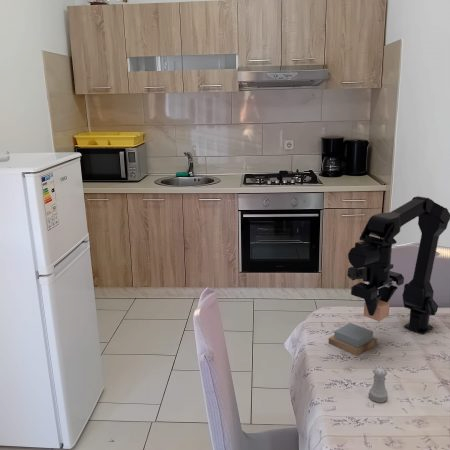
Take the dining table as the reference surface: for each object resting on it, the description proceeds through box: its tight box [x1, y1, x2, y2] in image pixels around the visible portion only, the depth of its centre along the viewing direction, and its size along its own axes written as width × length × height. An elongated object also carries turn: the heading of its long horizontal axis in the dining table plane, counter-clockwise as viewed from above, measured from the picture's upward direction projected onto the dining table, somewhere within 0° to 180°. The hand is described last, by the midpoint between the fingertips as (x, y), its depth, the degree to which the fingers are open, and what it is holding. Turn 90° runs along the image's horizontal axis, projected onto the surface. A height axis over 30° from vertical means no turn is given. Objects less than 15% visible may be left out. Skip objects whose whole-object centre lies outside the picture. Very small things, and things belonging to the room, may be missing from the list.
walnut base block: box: [328, 334, 378, 357], centre depth 140 cm, size 10×10×2 cm
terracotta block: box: [363, 300, 391, 322], centre depth 134 cm, size 5×5×4 cm
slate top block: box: [333, 322, 374, 348], centre depth 140 cm, size 8×8×2 cm
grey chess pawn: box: [368, 365, 389, 404], centre depth 114 cm, size 4×4×8 cm
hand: (376, 312), depth 134 cm, fingers closed on terracotta block, 5 cm apart
